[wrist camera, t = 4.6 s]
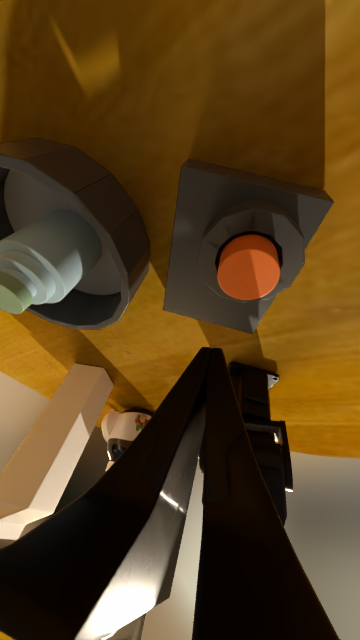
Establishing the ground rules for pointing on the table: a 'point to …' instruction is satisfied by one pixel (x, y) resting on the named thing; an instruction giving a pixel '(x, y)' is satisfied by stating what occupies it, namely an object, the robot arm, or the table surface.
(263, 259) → the stop button
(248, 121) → the table surface
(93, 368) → the milk
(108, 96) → the table surface
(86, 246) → the bottle
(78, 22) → the table surface
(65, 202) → the bottle warmer
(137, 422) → the spread jar
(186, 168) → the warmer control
